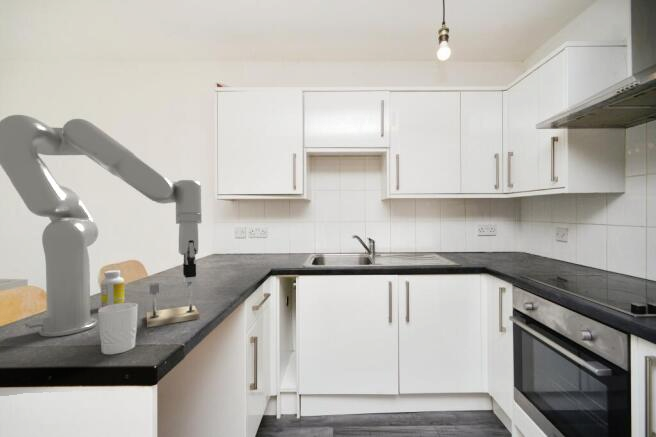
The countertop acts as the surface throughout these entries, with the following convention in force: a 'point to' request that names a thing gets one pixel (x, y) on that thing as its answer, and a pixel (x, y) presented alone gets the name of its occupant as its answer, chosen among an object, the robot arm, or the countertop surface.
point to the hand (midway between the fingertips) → (189, 275)
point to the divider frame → (156, 287)
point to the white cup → (118, 327)
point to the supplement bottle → (112, 288)
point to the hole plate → (172, 316)
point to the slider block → (190, 289)
